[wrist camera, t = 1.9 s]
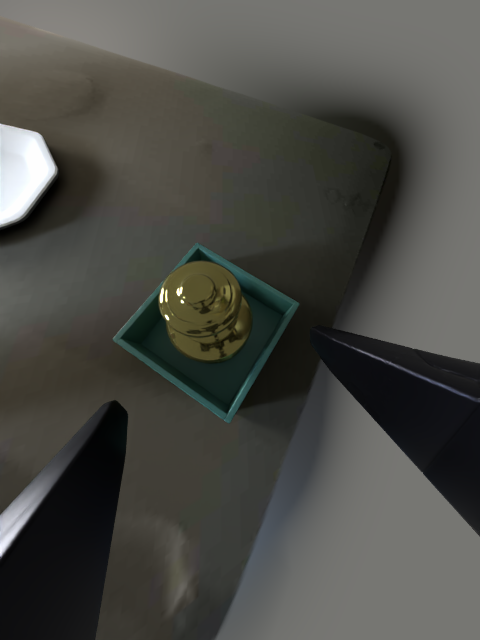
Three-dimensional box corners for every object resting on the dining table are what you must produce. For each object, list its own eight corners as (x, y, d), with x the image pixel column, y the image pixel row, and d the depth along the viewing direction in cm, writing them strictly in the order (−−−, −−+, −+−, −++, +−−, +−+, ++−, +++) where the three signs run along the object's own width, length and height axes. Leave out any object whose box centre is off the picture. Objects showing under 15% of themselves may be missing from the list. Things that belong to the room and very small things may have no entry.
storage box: (287, 315, 20) (300, 303, 17) (229, 412, 17) (229, 424, 14) (203, 264, 22) (197, 242, 18) (136, 345, 19) (111, 339, 15)
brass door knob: (176, 303, 20) (123, 240, 10) (241, 292, 20) (249, 224, 11) (184, 371, 18) (127, 372, 8) (255, 356, 19) (280, 341, 9)
